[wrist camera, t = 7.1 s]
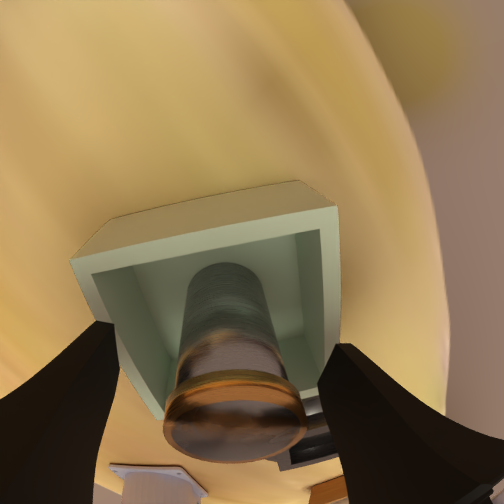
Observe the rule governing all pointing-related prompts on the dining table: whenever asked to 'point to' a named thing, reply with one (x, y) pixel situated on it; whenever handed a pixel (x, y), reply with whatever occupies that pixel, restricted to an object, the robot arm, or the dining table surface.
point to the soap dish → (330, 492)
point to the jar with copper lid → (231, 374)
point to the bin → (207, 253)
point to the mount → (309, 440)
